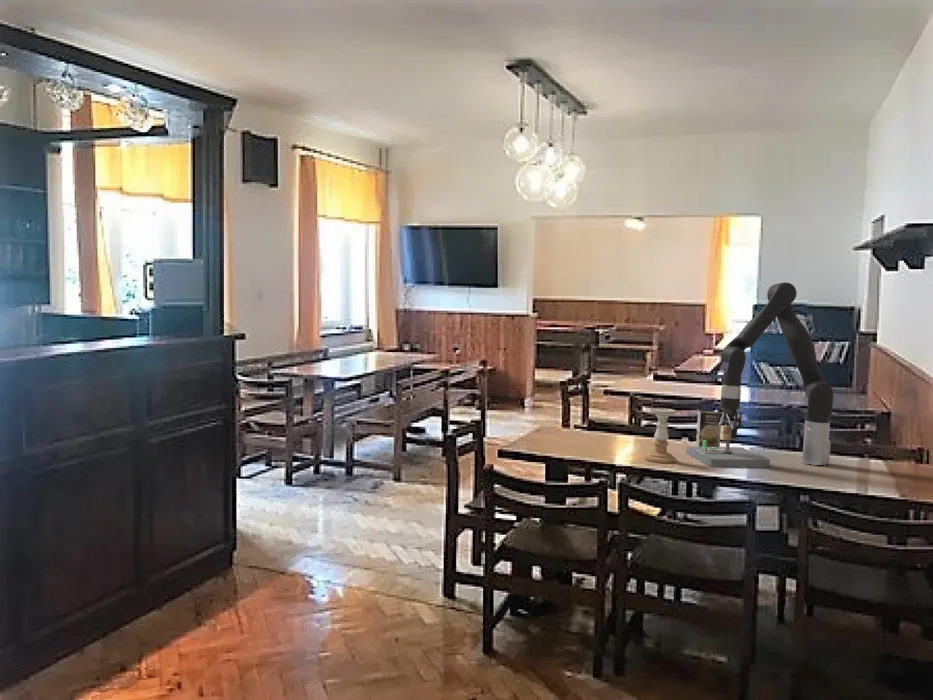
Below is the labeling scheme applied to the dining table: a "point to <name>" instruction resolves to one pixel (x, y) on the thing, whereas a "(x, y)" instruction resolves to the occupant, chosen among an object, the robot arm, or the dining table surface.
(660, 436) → the candle holder
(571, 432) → the dining table surface
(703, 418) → the coffee box
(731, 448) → the board
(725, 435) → the tuning key
